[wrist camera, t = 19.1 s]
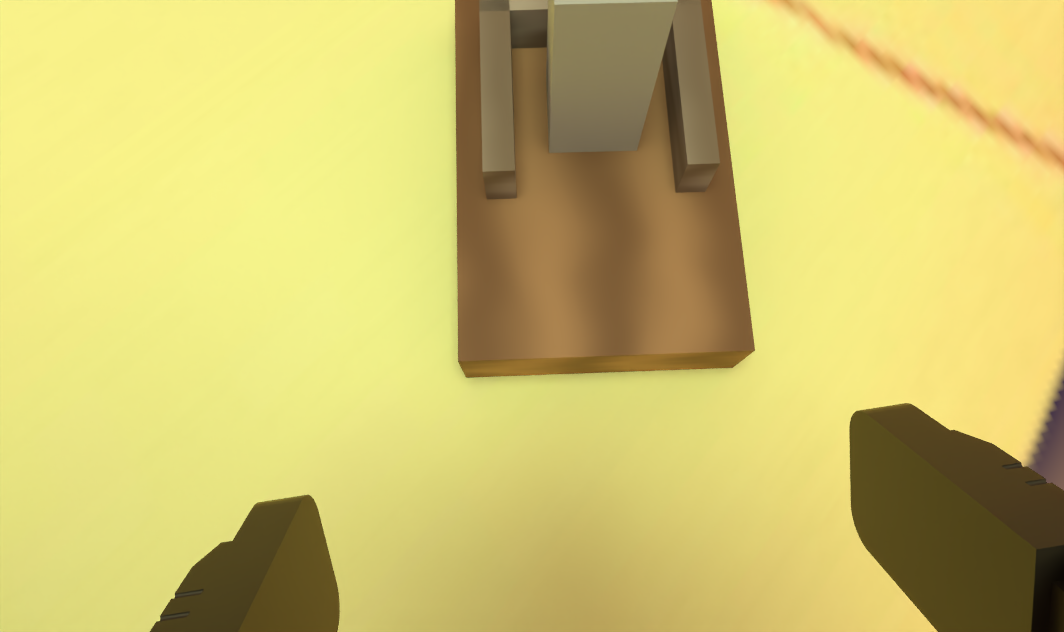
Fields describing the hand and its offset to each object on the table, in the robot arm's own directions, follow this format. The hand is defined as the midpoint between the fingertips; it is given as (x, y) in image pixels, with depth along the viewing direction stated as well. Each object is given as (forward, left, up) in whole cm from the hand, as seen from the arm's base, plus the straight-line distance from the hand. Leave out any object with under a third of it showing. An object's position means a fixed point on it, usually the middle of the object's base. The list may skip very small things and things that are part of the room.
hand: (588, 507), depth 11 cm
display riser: (+3, +18, -26) cm, 32 cm away
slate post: (+3, +20, -22) cm, 30 cm away
